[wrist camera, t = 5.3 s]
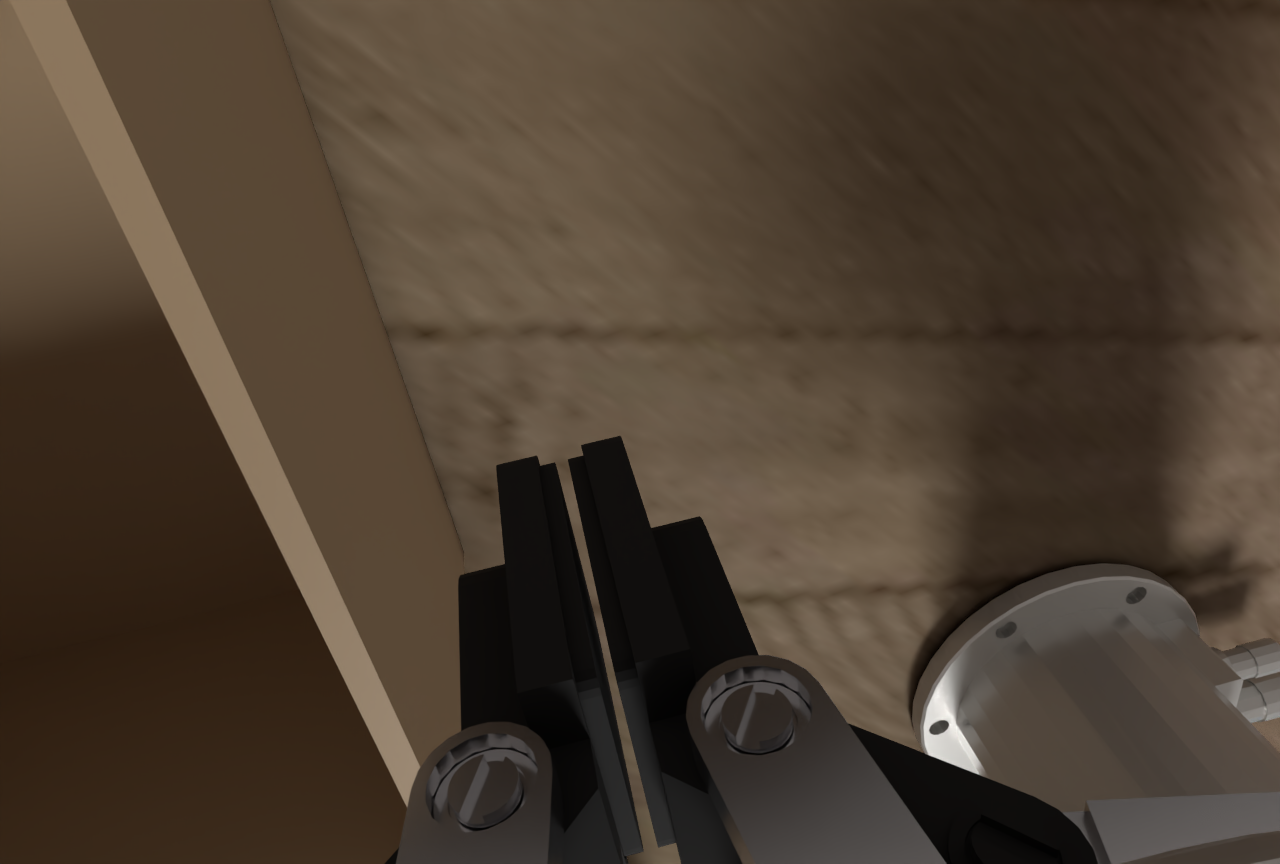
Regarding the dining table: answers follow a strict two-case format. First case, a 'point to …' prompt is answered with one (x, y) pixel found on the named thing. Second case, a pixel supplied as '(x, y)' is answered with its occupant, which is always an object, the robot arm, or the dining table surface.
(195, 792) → the carton
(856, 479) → the dining table surface
